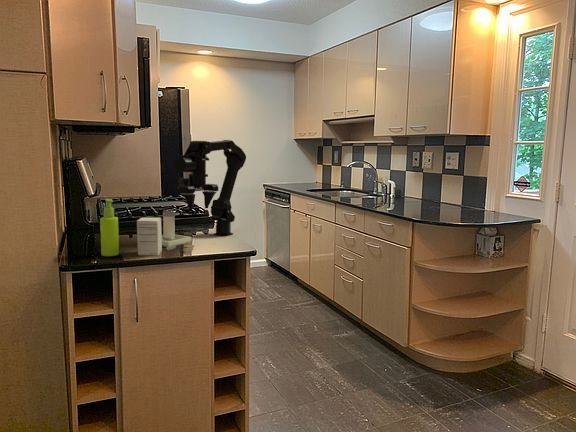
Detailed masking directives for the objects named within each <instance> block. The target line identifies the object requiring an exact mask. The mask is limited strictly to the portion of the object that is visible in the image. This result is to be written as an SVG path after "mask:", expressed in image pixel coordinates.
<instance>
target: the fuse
mask: <svg viewBox="0 0 576 432" xmlns="http://www.w3.org/2000/svg"><path fill="white" fill-rule="evenodd" d="M175 214H176V212H175V211H174V210H164V211H162V224H163V231H162V233H163V234H162V235H164V237H163V241H173V240H175V234H176V232H175V230H176V229H175V227H176V226H175V222H176V221H175V220H176V219H175V216H176V215H175Z"/></svg>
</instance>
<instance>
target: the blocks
mask: <svg viewBox="0 0 576 432" xmlns="http://www.w3.org/2000/svg"><path fill="white" fill-rule="evenodd" d="M195 246H196V245H193V244H186V245H184V246H183V247H184V249H183V252H184V253H189V252H191V251H193V250H194V247H195ZM174 249H177V246H176V245H172V246H169V247H166V251H171V250H174Z"/></svg>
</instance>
